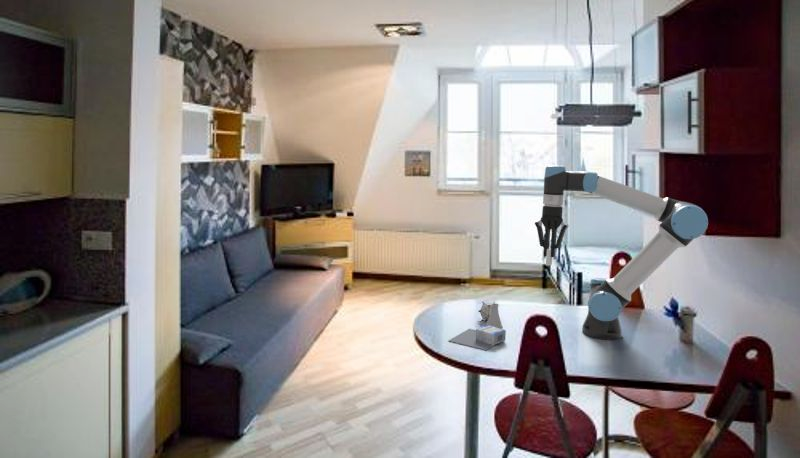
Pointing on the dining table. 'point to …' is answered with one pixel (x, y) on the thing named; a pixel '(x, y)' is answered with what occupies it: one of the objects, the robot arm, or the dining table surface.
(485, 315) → the game die
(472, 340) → the mat
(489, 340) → the medicine box
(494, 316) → the flask
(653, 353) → the dining table surface
